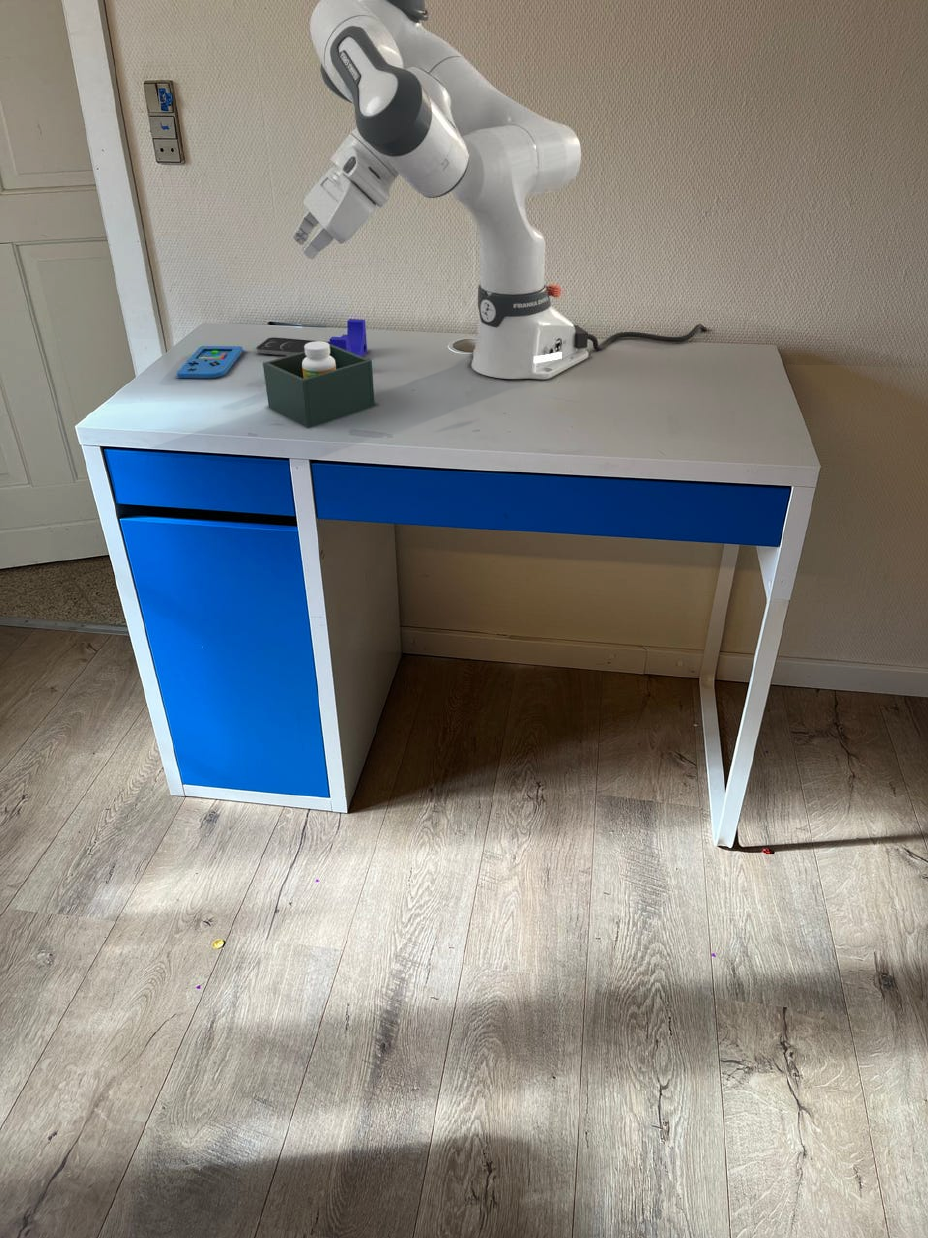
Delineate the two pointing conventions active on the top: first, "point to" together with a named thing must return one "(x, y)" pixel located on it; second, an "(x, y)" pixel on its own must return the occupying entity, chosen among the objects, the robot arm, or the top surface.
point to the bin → (319, 387)
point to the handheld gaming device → (210, 362)
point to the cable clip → (353, 338)
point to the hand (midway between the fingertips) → (301, 247)
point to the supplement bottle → (317, 359)
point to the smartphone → (283, 346)
